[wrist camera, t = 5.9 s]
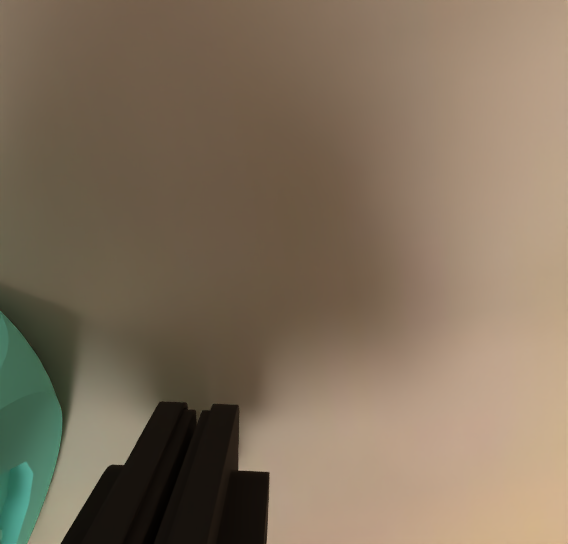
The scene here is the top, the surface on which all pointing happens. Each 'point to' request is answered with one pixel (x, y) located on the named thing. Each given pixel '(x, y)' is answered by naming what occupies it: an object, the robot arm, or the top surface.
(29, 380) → the decorative dice
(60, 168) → the top surface
